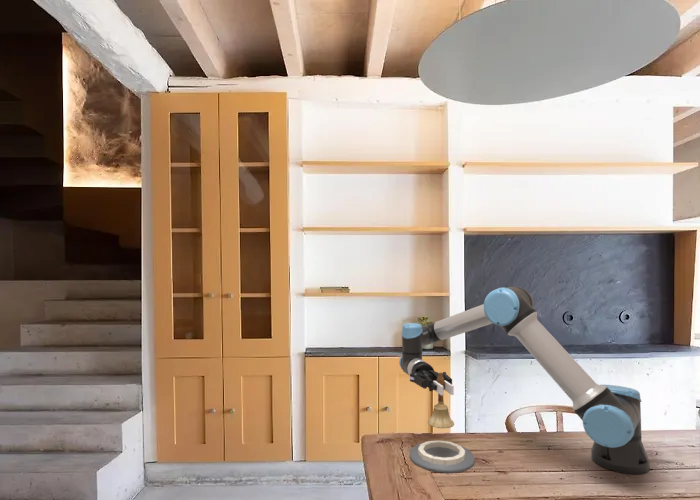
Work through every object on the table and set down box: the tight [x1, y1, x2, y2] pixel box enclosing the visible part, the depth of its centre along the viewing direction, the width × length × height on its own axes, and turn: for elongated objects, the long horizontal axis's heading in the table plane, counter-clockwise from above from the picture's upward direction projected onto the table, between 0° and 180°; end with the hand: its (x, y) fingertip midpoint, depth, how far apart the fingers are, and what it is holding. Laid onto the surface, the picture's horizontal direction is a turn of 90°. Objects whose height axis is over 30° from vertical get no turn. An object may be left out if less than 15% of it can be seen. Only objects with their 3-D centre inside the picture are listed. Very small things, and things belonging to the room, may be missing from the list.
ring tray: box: [409, 439, 475, 474], centre depth 137 cm, size 20×20×2 cm
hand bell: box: [427, 372, 455, 429], centre depth 138 cm, size 8×8×16 cm
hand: (447, 390), depth 132 cm, fingers closed on hand bell, 3 cm apart
